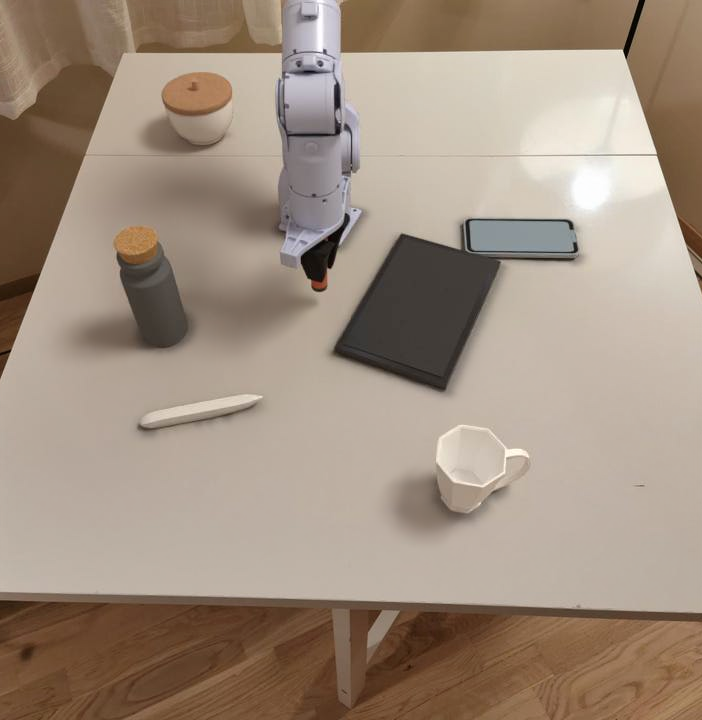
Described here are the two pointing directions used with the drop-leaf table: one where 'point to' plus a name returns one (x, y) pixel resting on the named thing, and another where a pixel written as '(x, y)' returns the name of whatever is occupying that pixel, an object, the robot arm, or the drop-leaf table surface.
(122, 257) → the bottle
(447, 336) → the tablet
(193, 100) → the trinket box
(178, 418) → the pen
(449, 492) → the cup
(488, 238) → the smartphone
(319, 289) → the orange cylinder
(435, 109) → the drop-leaf table surface
